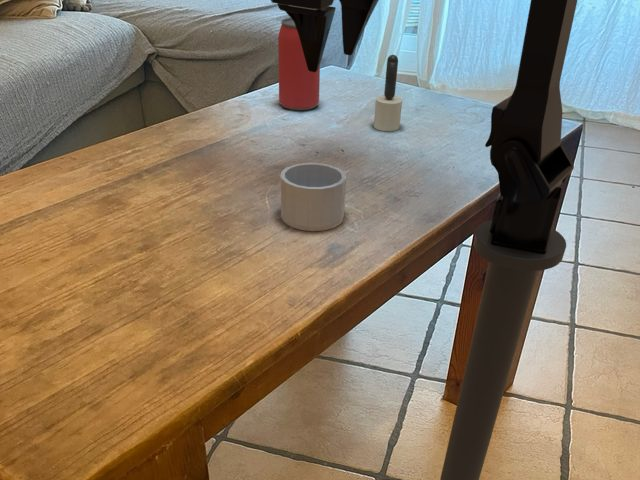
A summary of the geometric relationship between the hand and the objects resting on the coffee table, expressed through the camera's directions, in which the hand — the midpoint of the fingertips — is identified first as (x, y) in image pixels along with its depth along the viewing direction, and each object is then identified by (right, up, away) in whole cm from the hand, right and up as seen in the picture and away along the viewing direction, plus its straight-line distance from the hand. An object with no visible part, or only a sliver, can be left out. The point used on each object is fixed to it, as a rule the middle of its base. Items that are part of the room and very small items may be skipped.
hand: (331, 62), depth 81 cm
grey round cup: (-2, -20, -3) cm, 20 cm away
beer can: (-5, +8, +28) cm, 29 cm away
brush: (+9, +2, +21) cm, 23 cm away
